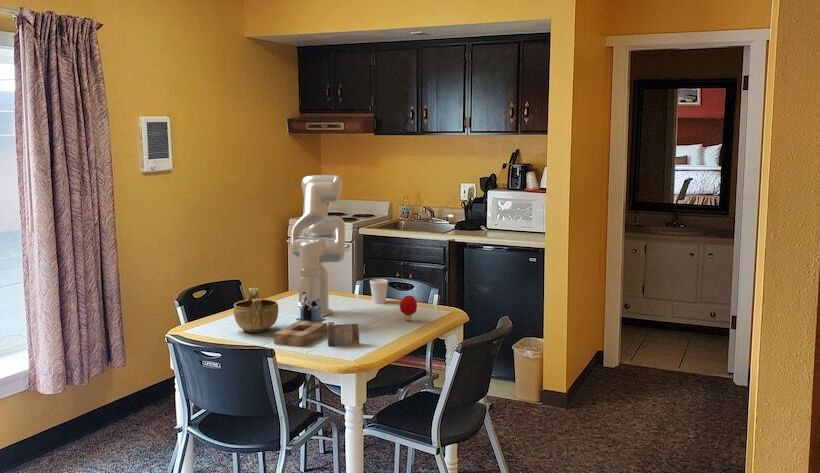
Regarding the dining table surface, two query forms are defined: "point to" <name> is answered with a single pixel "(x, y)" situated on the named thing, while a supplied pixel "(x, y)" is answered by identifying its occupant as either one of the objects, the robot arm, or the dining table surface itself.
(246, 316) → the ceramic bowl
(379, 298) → the dixie cup
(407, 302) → the light bulb
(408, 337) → the dining table surface
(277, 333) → the brown wooden flat block
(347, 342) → the ruin model on sheet
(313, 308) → the servo
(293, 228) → the robot arm
